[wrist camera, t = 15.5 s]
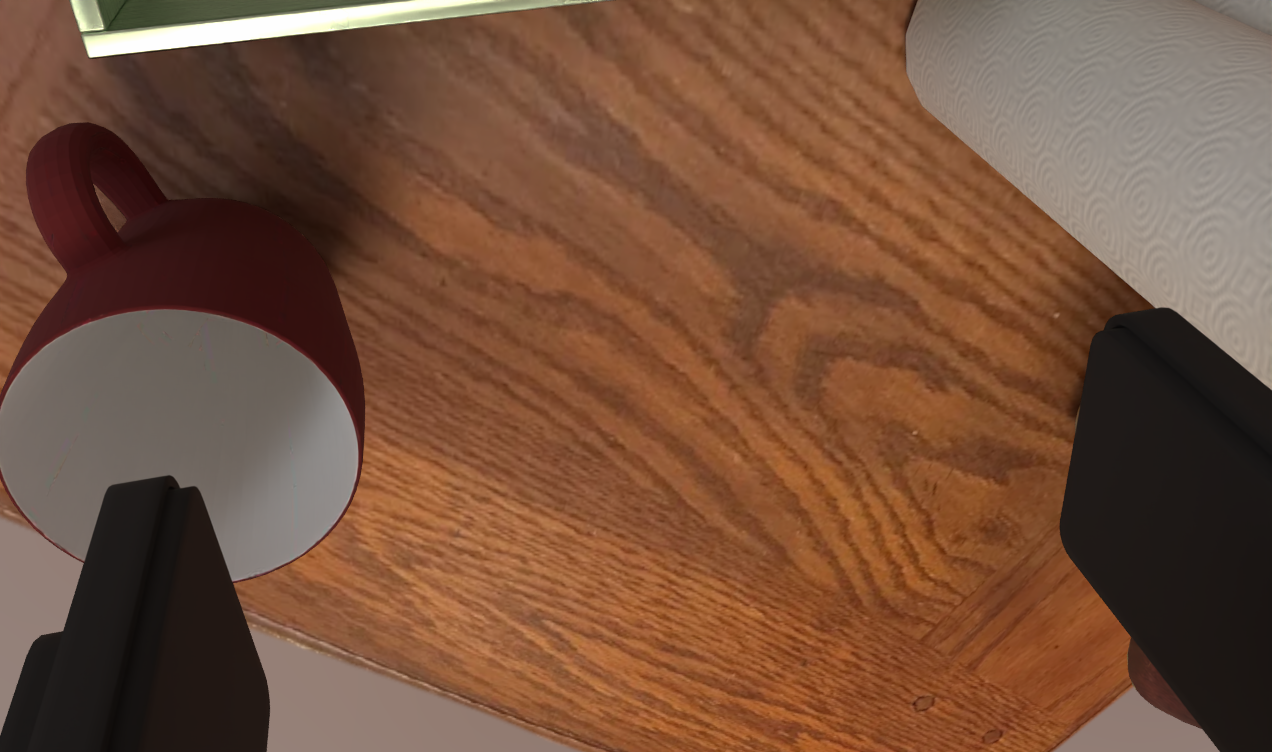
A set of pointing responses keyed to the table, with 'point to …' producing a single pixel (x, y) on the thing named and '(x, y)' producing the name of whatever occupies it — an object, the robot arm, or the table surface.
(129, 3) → the compartment tray
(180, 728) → the robot arm
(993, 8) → the paper towel roll
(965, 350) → the table surface
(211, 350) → the mug
